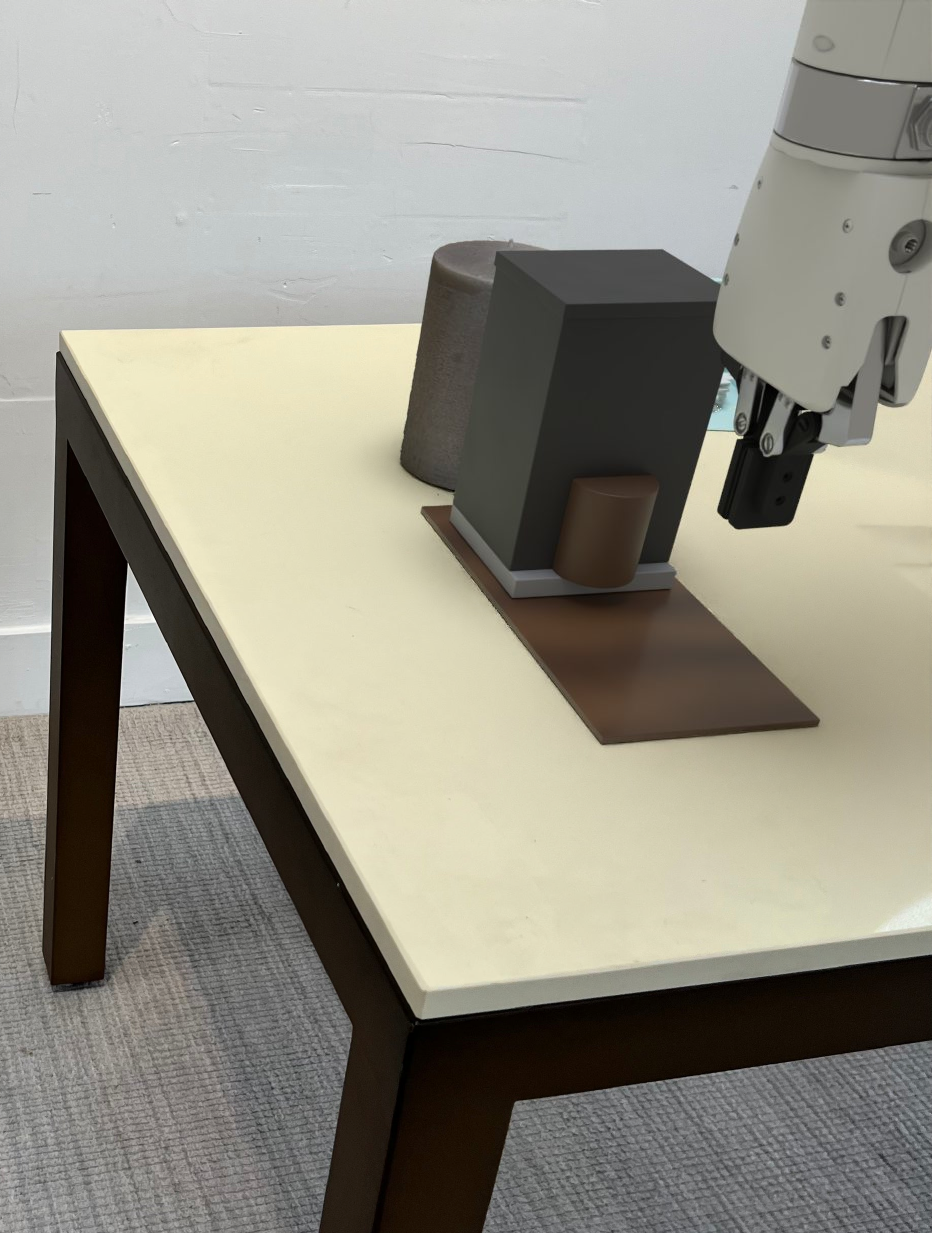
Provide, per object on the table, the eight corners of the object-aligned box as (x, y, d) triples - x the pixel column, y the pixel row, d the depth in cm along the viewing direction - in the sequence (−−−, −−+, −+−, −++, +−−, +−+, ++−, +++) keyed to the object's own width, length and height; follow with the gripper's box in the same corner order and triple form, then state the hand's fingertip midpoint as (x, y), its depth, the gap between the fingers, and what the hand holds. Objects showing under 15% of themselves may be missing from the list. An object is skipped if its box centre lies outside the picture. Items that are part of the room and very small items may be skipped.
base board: (818, 726, 71) (821, 719, 71) (601, 744, 69) (603, 737, 69) (593, 503, 92) (594, 498, 91) (420, 511, 89) (421, 505, 89)
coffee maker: (687, 602, 80) (774, 316, 71) (521, 612, 78) (587, 320, 69) (597, 512, 89) (663, 248, 80) (446, 519, 87) (495, 250, 78)
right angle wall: (588, 368, 112) (610, 273, 108) (734, 373, 113) (761, 279, 109) (633, 427, 103) (659, 325, 98) (792, 432, 103) (825, 331, 99)
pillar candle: (374, 445, 98) (406, 222, 89) (494, 431, 101) (536, 215, 92) (445, 504, 90) (487, 267, 82) (571, 487, 93) (625, 257, 85)
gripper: (1083, 158, 52) (915, 589, 63) (851, 77, 64) (743, 452, 75) (904, 163, 51) (764, 602, 62) (701, 79, 63) (613, 461, 74)
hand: (753, 519), depth 68 cm, fingers closed
